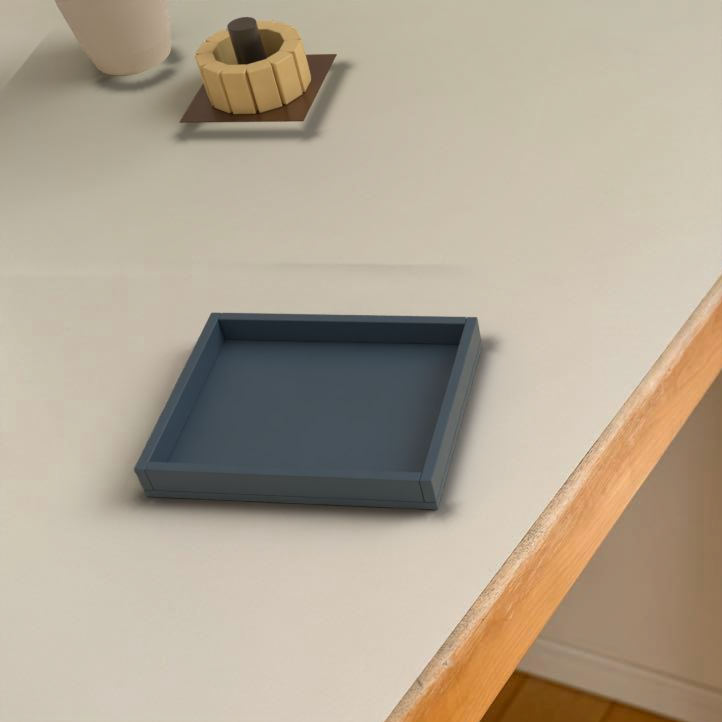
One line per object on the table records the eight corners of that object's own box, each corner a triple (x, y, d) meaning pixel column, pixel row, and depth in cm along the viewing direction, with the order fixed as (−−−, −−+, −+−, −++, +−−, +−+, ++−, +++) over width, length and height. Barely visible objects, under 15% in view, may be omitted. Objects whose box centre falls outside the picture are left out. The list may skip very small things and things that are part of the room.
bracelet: (195, 114, 86) (181, 74, 84) (227, 61, 91) (215, 21, 88) (294, 113, 85) (283, 72, 83) (322, 60, 89) (312, 19, 87)
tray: (146, 496, 63) (132, 469, 62) (221, 339, 71) (210, 311, 70) (438, 510, 61) (431, 481, 59) (482, 345, 68) (477, 316, 67)
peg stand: (183, 135, 86) (156, 58, 82) (223, 68, 92) (200, -7, 88) (306, 134, 85) (286, 56, 81) (340, 66, 91) (322, -10, 86)
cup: (201, 36, 96) (158, -99, 88) (178, 91, 91) (131, -48, 83) (99, 45, 97) (48, -88, 89) (71, 100, 91) (14, -37, 84)
